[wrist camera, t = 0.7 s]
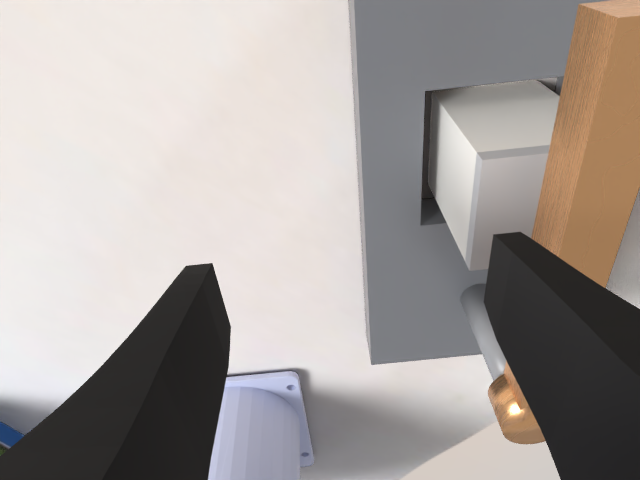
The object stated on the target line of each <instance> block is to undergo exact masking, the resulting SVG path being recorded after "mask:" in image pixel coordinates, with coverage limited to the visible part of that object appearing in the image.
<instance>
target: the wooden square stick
mask: <svg viewBox="0 0 640 480" xmlns="http://www.w3.org/2000/svg"><path fill="white" fill-rule="evenodd" d="M639 188H640V0H610V1H601V2H592V3H583V4H579V5H578V10H577V15H576V20H575V25H574V30H573V34H572V39H571V44H570V49H569V54H568V59H567V64H566V69H565V74H564V79H563V84H562V89H561V94H560V99H559V103H558V108H557V113H556V118H555V123H554V128H553V133H552V138H551V143H550V148H549V153H548V158H547V163H546V167H545V172H544V177H543V182H542V187H541V192H540V197H539V202H538V207H537V212H536V217H535V222H534V227H533V231H532V236H531V239H533V240H534V241H536V242H537V243H539V244H540V245H542V246H543V247H545V248H546V249H547V250H549V251H550V252H552V253H553V254H555V255H556V256H558V257H559V258H561V259H562V260H563V261H565V262H566V263H568V264H569V265H571V266H572V267H574V268H575V269H577V270H578V271H580V272H581V273H583V274H584V275H586V276H587V277H589V278H590V279H592V280H593V281H595V282H596V283H598V284H599V285H601V286H603V287H604V288H605V287H606V285H607V282H608V279H609V276H610V273H611V270H612V267H613V264H614V261H615V258H616V255H617V252H618V249H619V246H620V243H621V241H622V238H623V235H624V232H625V229H626V226H627V223H628V220H629V217H630V214H631V211H632V208H633V205H634V202H635V199H636V197H637V194H638V191H639ZM488 397H489V399H490V402H491V404H492V407H493V409H494V412H495V415H496V417H497V420H498V422H499V424H500V427H501V429H502V432H503V435H504V436H505V438H507V439H508V440H509V441H512V442H514V443H519V444H535V443H540V442H544V441H546V440H545V438H544V436H543V434H542V431H541V429H540V427H539V425H538V423H537V421H536V419H535V417H534V415H533V413H532V411H531V409H530V407H529V405H528V403H527V401H526V399H525V397H524V395H523V393H522V391H521V389H520V387H519V385H518V383H517V381H516V379H515V377H514V375H513V373H512V371H511V369H510V367H509V365H508V363H507V361H506V364H505V369H504V374H502V375H501V376H499V377H498V378H497V379H495V380H494V381H493V383H492V384H491V385H490V387H489V390H488Z"/></svg>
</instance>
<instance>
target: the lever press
mask: <svg viewBox="0 0 640 480" xmlns="http://www.w3.org/2000/svg"><path fill="white" fill-rule="evenodd" d="M348 1H349V19H350V38H351V57H352V75H353V94H354V112H355V131H356V150H357V168H358V187H359V205H360V224H361V243H362V261H363V280H364V298H365V317H366V336H367V342H368V348H369V354H370V360H371V365H375V364H386V363H396V362H406V361H416V360H427V359H437V358H447V357H457V356H468V355H478V354H483V357H484V359H485V361H486V364H487V366H488V369H489V371H490V373H491V376H492V378H493V381H494V380H495V379H497V378H498V377H499V376H501V375H502V374H504V369H505V364H506V359H505V357H504V355H503V353H502V351H501V348H500V346H499V344H498V342H497V340H496V337H495V334H494V332H493V329H492V326H491V323H490V320H489V317H488V314H487V311H486V308H485V305H484V295H485V288H486V281H487V274H488V269H484V270H473V271H469V269H468V267H467V264H466V262H465V260H464V258H463V256H462V254H461V252H460V250H459V248H458V246H457V243H456V241H455V239H454V237H453V235H452V233H451V231H450V229H449V227H448V225H447V222H446V220H445V218H444V216H443V214H442V212H441V210H440V208H439V206H438V204H437V201H436V199H435V198H432V199H422V200H421V193H422V165H423V136H424V108H425V91H431V90H441V89H450V88H459V87H468V86H478V85H487V84H496V83H505V82H514V81H524V80H533V79H542V78H551V77H557V83H556V88H555V93H556V94H557V95H558V96H560V94H561V89H562V84H563V79H564V74H565V69H566V64H567V59H568V54H569V49H570V44H571V39H572V34H573V30H574V25H575V20H576V15H577V10H578V5H579V4H583V3H592V2H601V1H610V0H348Z"/></svg>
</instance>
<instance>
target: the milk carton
mask: <svg viewBox="0 0 640 480" xmlns="http://www.w3.org/2000/svg"><path fill="white" fill-rule="evenodd" d="M24 436H25V435H23V434H21V433H19V432H18V431H16V430H14V429H13V428H11V427H9V426H7V425H6V424H4V423H2V422H0V456H1V455H2V454H3V453H4V452H6V451H7V450H8V449H9V448H11V447H12V446H13V445H14V444H15V443H17V442H18V441H19V440H20V439H22V438H23V437H24Z"/></svg>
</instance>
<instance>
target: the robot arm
mask: <svg viewBox="0 0 640 480" xmlns="http://www.w3.org/2000/svg"><path fill="white" fill-rule="evenodd" d="M484 305H485V308H486V311H487V314H488V317H489V320H490V323H491V326H492V329H493V332H494V334H495V337H496V340H497V342H498V344H499V346H500V348H501V351H502V353H503V355H504V357H505V359H506V361H507V363H508V365H509V367H510V369H511V371H512V373H513V375H514V377H515V379H516V381H517V383H518V385H519V387H520V389H521V391H522V393H523V395H524V397H525V399H526V401H527V403H528V405H529V407H530V409H531V411H532V413H533V415H534V417H535V419H536V421H537V423H538V425H539V427H540V429H541V431H542V434H543V436H544V438H545V440H546V443H547V445H548V447H549V450H550V452H551V455H552V458H553V460H554V463H555V465H556V468H557V471H558V473H559V476H560V479H561V480H640V309H639V308H637V307H635V306H634V305H632V304H630V303H628V302H627V301H625V300H623V299H622V298H620V297H618V296H617V295H615V294H614V293H612V292H610V291H609V290H607V289H606V288H604V287H603V286H601V285H599V284H598V283H596V282H595V281H593V280H592V279H590V278H589V277H587V276H586V275H584V274H583V273H581V272H580V271H578V270H577V269H575V268H574V267H572V266H571V265H569V264H568V263H566V262H565V261H563V260H562V259H561V258H559V257H558V256H556V255H555V254H553V253H552V252H550V251H549V250H547V249H546V248H545V247H543V246H542V245H540V244H539V243H537V242H536V241H534V240H533V239H531V238H530V237H528V236H527V235H525V234H523V233H522V232H512V233H503V234H493V240H492V247H491V254H490V260H489V267H488V274H487V281H486V288H485V295H484ZM230 332H231V326H230V322H229V319H228V316H227V312H226V309H225V305H224V302H223V298H222V295H221V291H220V288H219V285H218V281H217V278H216V274H215V271H214V267H213V264H212V263H210V264H200V265H190V266H186V267H185V268H184V269H183V270H182V271H181V273H180V274H179V275H178V276H177V277H176V279H175V280H174V281H173V282H172V284H171V285H170V286H169V288H168V289H167V290H166V291H165V293H164V294H163V295H162V296H161V298H160V299H159V300H158V301H157V303H156V304H155V305H154V306H153V308H152V309H151V310H150V311H149V313H148V314H147V315H146V316H145V317H144V319H143V320H142V321H141V322H140V323H139V325H138V326H137V327H136V328H135V329H134V331H133V332H132V333H131V334H130V335H129V337H128V338H127V339H126V340H125V341H124V342H123V343H122V344H121V345H120V346H119V348H118V349H117V350H116V351H115V352H114V353H113V354H112V355H111V356H110V357H109V359H108V360H107V361H106V362H105V363H104V364H103V365H102V366H101V367H100V368H99V369H98V370H97V371H96V372H95V373H94V374H93V375H92V376H91V377H90V378H89V379H88V380H87V381H86V382H85V383H84V384H83V385H82V386H81V387H80V388H79V389H78V390H77V391H76V392H75V393H74V394H72V395H71V396H70V397H69V398H68V399H67V400H66V401H65V402H64V403H63V404H62V405H61V406H60V407H58V408H57V409H56V410H55V411H54V412H53V413H52V414H50V415H49V416H48V417H47V418H46V419H44V420H43V421H42V422H41V423H40V424H38V425H37V426H36V427H35V428H34V429H32V430H31V431H30V432H29V433H28V434H26V435H25V436H24V437H23V438H22V439H20V440H19V441H18V442H17V443H15V444H14V445H13V446H12V447H11V448H9V449H8V450H7V451H6V452H4V453H3V454H2V455H1V456H0V480H300V467H306V466H311V465H312V464H313V463H314V455H313V450H312V444H311V439H310V434H309V428H308V423H307V418H306V412H305V407H304V402H303V396H302V391H301V385H300V380H299V376H298V374H297V373H296V372H293V371H285V372H275V373H265V374H255V375H244V376H234V377H227V371H228V365H229V351H230Z"/></svg>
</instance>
